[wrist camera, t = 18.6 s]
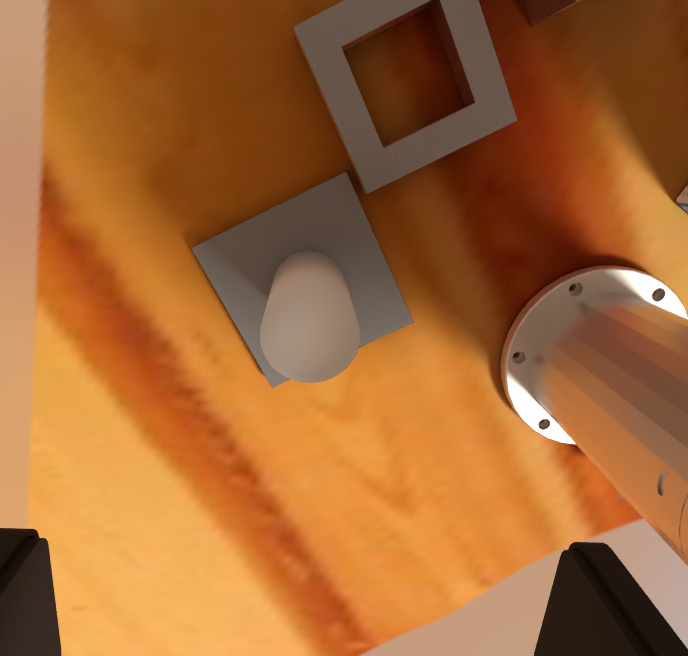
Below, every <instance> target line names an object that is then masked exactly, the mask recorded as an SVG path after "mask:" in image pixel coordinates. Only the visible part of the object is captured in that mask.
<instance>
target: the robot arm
mask: <svg viewBox="0 0 688 656" xmlns="http://www.w3.org/2000/svg"><path fill="white" fill-rule="evenodd" d="M571 285H572V287H571V288H570V286H571ZM569 288H570V289H569ZM516 352H517V353H516ZM515 353H516V355H514V354H515ZM513 355H514V356H513ZM501 381H502V384H503V388H504V391H505V395H506V397H507V399H508V401H509V403H510V404H511V406H512V408H513V409H514V411H515V412H516V413H517V414H518V416H519V417H520V418H521V420H522V421H523V422H525V423H526V424H527V425H528V426H529V427H530V428H531V429H532V430H534V431H535V432H537V433H539V434H541V435H542V436H544V437H546V438H548V439H552V440H555V441H558V442H561V443H568V444H576V445H577V446H578V447H579V448H580V449H581V450H582V452H583V453H584V454H585V455H586V456H587V457H588V458H589V459H590V460H591V461H592V462H593V464H594V465H595V466H596V467H597V468H598V469H599V470H600V471H601V472H602V473H603V474H604V475H605V477H606V478H607V479H608V480H609V481H610V482H611V483H612V484H613V485H614V487H615V490H616V493H617V494H618V496H619V497H620V498H622V499H625V500H627V501H628V502H629V503H630V504H631V505H632V506H633V507H634V508H635V509H636V510H637V511H638V513H639V514H640V515H641V516H642V517H643V518H644V519H645V520H646V521H647V522H648V523H649V524H650V525H651V527H652V528H653V529H654V530H655V531H656V532H657V533H658V534H659V535H660V536H661V537H662V539H663V540H664V541H665V542H666V543H667V544H668V545H669V546H670V547H671V548H672V550H673V551H674V552H675V553H676V554H677V555H678V556H679V557H680V558H681V559H682V560H683V561H684V563H685V564H686V565H687V566H688V315H687V312H686V310H685V307H684V305H683V304H682V302H681V301H680V299H679V298H678V296H677V295H676V293H675V292H674V291H673V290H672V289H671V288H669V287H668V286H667V285H666V284H665V283H664V282H663V281H661V280H659V279H657V278H655V277H654V276H652V275H650V274H648V273H645V272H642V271H639V270H636V269H634V268H629V267H623V266H617V265H605V266H594V267H589V268H584V269H580V270H577V271H574V272H572V273H570V274H567V275H565V276H562V277H560V278H559V279H557V280H555V281H554V282H552V283H551V284H549V285H547V286H546V287H544V288H543V289H542V290H541V291H540V292H539V293H537V294H536V295H535V296H534V297H533V298H532V299H531V300H530V301H529V302H528V303H527V304H526V305H525V307H524V308H523V309H522V310H521V312H520V313H519V314H518V315H517V317H516V319H515V321H514V323H513V324H512V326H511V328H510V330H509V332H508V335H507V338H506V340H505V343H504V346H503V351H502V358H501ZM0 656H61V644H60V636H59V627H58V619H57V611H56V603H55V595H54V587H53V579H52V570H51V562H50V554H49V546H48V541H47V540H46V539H45V538H39V535H38V532H37V531H36V530H35V529H14V528H0ZM534 656H688V649H687V648H686V646H685V645H684V644H683V642H682V641H681V640H680V638H679V637H678V636H677V634H676V633H675V632H674V630H673V629H672V628H671V626H670V625H669V624H668V623H667V621H666V620H665V619H664V617H663V616H662V615H661V614H660V612H659V611H658V609H657V608H656V607H655V606H654V604H653V603H652V602H651V600H650V599H649V598H648V596H647V595H646V594H645V592H644V591H643V590H642V588H641V587H640V586H639V584H638V583H637V582H636V581H635V579H634V578H633V577H632V575H631V574H630V573H629V571H628V570H627V569H626V567H625V566H624V565H623V564H622V562H621V561H620V560H619V559H618V557H617V556H616V554H615V553H614V552H613V550H612V549H611V548H610V547H609V546H608V545H607V544H605V543H590V542H574V543H572V544H571V545H570V547H569V549H568V550H564V551H563V552H562V554H561V556H560V560H559V563H558V567H557V571H556V575H555V579H554V582H553V586H552V590H551V593H550V597H549V601H548V604H547V608H546V612H545V615H544V619H543V623H542V627H541V630H540V634H539V638H538V641H537V645H536V649H535V652H534Z"/></svg>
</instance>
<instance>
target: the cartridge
mask: <svg viewBox="0 0 688 656" xmlns="http://www.w3.org/2000/svg"><path fill="white" fill-rule="evenodd" d="M359 342H360V329H359V325H358V321H357V317H356V314H355V310H354V307H353V304H352V300H351V297H350V293H349V290H348V286H347V283H346V280H345V276H344V273H343V271H342V269H341V267H340V266H339V265H338V263H337V262H336V261H335V260H334V259H332V258H331V257H330V256H328V255H326V254H324V253H321V252H318V251H301V252H297V253H295V254H293V255H291V256H289V257H288V258H286V259H285V260H284V261H283V262H282V263H281V265H280V266H279V267H278V269H277V271H276V273H275V276H274V280H273V284H272V287H271V291H270V294H269V298H268V302H267V305H266V309H265V313H264V316H263V320H262V324H261V328H260V344H261V348H262V351H263V354H264V356H265V358H266V359H267V361H268V362H269V364H270V365H271V366H272V367H273V368H274V369H275V370H276V371H277V372H279V373H280V374H282V375H283V376H285V377H287V378H289V379H292V380H295V381H299V382H306V383H314V382H321V381H325V380H328V379H330V378H333V377H334V376H336V375H338V374H339V373H341V372H342V371H343V370H344V369H346V368H347V367H348V365H349V364H350V363H351V362H352V360H353V359H354V357H355V355H356V353H357V350H358V347H359Z"/></svg>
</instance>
